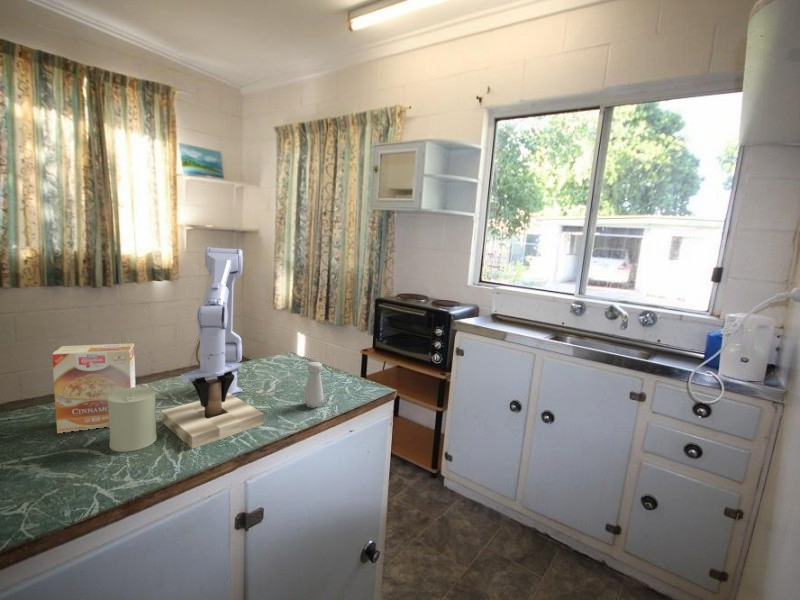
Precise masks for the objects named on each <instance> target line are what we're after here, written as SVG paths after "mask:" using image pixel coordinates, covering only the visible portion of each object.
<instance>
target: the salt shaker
mask: <svg viewBox="0 0 800 600" xmlns="http://www.w3.org/2000/svg"><path fill="white" fill-rule="evenodd" d="M322 371H323V363H321V362H319V361H311V362H309V363H308V364H307V372H308V375H307V381H306V385H305V389H304V394H303V402H304V403H305V405H306V407H308V408H309V407H310V408H311V409H315V407H317V408H319V407H320V406H321V405H322V402H323V401H324V390H323V383H322V382H323V381H322V376H321V372H322Z"/></svg>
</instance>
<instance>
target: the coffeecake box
mask: <svg viewBox="0 0 800 600" xmlns="http://www.w3.org/2000/svg"><path fill="white" fill-rule="evenodd" d="M135 365H136V364H135V343H133V342H132V343H131V342H129V343H116V344H115V343H111V344H110V343H107V344H87V345H85V344H82V345H80V344H79V345H61V346H60V347H59V348H58V349H57V350H55V351H54V352H52V373H53V388H54V389H53V390H54V404H55V420H56V422H55V423H56V431H57V432H56V433H57V434H64V433H63V432H65V433H72V432H71V431H74V432H80V431H79V430H82V431H88V429H90V430H97V429H96V428H99V429H105V428H104V427H107V428H110V427H109V408H108V399H107V398H108V396H109V395H110V394H112V393H113V392H116V391H119V390H122V389H126V388H132V387H136V366H135Z"/></svg>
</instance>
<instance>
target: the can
mask: <svg viewBox="0 0 800 600" xmlns="http://www.w3.org/2000/svg"><path fill="white" fill-rule="evenodd" d="M156 393H157V391H156V390H155V389H154V388H152V387H147V386H135V387H132V388H126V389H122V390H119V391H116V392H113V393H112V394H110V395H109V396H108V398H107V399H108V408H109V427H108V428H109V444H108V445H109V448H110V449H111V450H112V451H114V452H121V453H122V452H124V453H126V452H134V451H139V450H142V449H144V448H147V447H148V446H151V445H152V444H154V443H155V442H156V441H157V439H158V434H157V422H156V421H157V420H156V418H157V414H156Z"/></svg>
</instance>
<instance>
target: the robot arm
mask: <svg viewBox="0 0 800 600" xmlns="http://www.w3.org/2000/svg"><path fill="white" fill-rule="evenodd" d="M243 252H244V251H243V250H242V249H241V248H221V247H210V246H207V248H206V249H205V252H204V264H205V267H206V270H207V272H208V274H209V275H210V276H211V279H210V280H211V282H210V284H207V286H206V287H205V289H204V295H203V298H202V304H201V307H200V306H199V307H198V308H197V313H196V321H197V322H196V323H197V328H198V332H197V333H198V336H199V349H200V350H199V351H200V352H199V355H200V356H199V357H200V359H199V360H200V364H199V367H200V368H197V369H195V370H192V371H188V372H186V373H181V375H180V376H181V377H180V379H181V381H180V382H182V383H183V384H185V385H186V384H189V383H190V382H191V384H192V385H193V387H194V389H195V391H196V394H197V395H198V399H199V401H200V403H201V405H202V406H203V407H207V404H208V398H207V394H208V387H209V383H208V382H206V381H207V380H211V379H219V380H221V381H222V402H225V399H226V395H227V394H228V393H230V394H232V395H234V394H238V393H241V392H243V389H242V388H241V387H239V386H238V373H239V372H242V370H243V364H242V363H240V362H241V361H242V358H243V357H242V356H243V344H242V343H243V342H242V341H243V340H242V338H241V336H240V335H239V334H237V333H236V332H235V331H234V330H233V319H234V316H233V315H234V284H235V282H236V279H238V278H239V277H240V278H241V277H242V274H243V263H244V259H243V258H244V254H243Z"/></svg>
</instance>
